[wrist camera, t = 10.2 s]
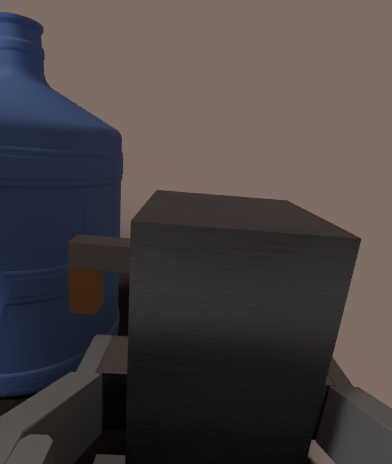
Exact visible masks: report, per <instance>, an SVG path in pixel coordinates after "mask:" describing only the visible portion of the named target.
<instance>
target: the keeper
mask: <svg viewBox="0 0 392 464" xmlns="http://www.w3.org/2000/svg"><path fill="white" fill-rule="evenodd" d="M68 269H69V304H70V313H80V314H94V315H96V314H97V312H98V310H99V309H100V307H101V305H102V303H103V301H104V271H111V272H124V273H130V239H128V238H117V237H105V236H93V235H81V234H78V235H77V236H75V237H74V238H73V239H71V240H70V241H69V242H68ZM93 464H125V456H124V455H103V454H96V457H95V460H94V463H93Z"/></svg>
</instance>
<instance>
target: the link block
mask: <svg viewBox="0 0 392 464" xmlns="http://www.w3.org/2000/svg"><path fill="white" fill-rule="evenodd" d="M360 242H361V238H359V237H357V236H355V235H353V234H351V233H349V232H347V231H346V230H343V229H341V228H340V227H338V226H336V225H334V224H332V223H330V222H328V221H326V220H324V219H322V218H320V217H318V216H316V215H314V214H312V213H310V212H308V211H306V210H304V209H302V208H301V207H299V206H297V205H295V204H293V203H290V202H289V201H286V200H274V199H261V198H248V197H236V196H224V195H210V194H199V193H187V192H173V191H162V190H157V191H156V192H155V193H154V194H153V195H152V197H151V198H150V199H149V200H148V201H147V202H146V204H145V205H144V206H143V207H142V208H141V210H140V211H139V212H138V213H137V214H136V216H135V217H134V218H133V219H132V221H131V237H130V279H129V322H128V364H127V407H126V449H125V464H306V460H307V456H308V452H309V447H310V444H311V440H312V436H313V432H314V428H315V424H316V420H317V416H318V412H319V408H320V404H321V400H322V396H323V391H324V387H325V383H326V379H327V375H328V371H329V367H330V363H331V359H332V355H333V351H334V347H335V343H336V339H337V335H338V331H339V327H340V323H341V319H342V315H343V311H344V306H345V303H346V298H347V295H348V291H349V287H350V282H351V279H352V274H353V270H354V266H355V262H356V258H357V254H358V250H359V246H360Z"/></svg>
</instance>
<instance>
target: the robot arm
mask: <svg viewBox="0 0 392 464" xmlns="http://www.w3.org/2000/svg"><path fill="white" fill-rule="evenodd" d="M127 364H128V336H116V335H114V336H113V335H101V334H97V335H96V336H94V338H93V340H92V342H91V344H90V346H89V347H88V349H87V351H86V353H85V355H84V357H83V359H82V361H81V363H80V365H79V367H78V369H77V371H76V372H70V373H68V374H66V375H65V376H63V377H62V378H60V379H59V380H57V381H55V382H54V383H52V384H51V385H49V386H48V387H46V388H45V389H43V390H41V391H40V392H38V393H37V394H35V395H34V396H32V397H30V398H29V399H27V400H26V401H24V402H23V403H21V404H19V405H18V406H16V407H15V408H13V409H12V410H10V411H9V412H7V413H5V414H4V415H2V416H1V417H0V464H74V463H75V462H76V461H77V460H78V458H79V457H80V456H81V455H82V454H83V453H84V452H85V451H86V450H87V448H88V447H89V446H90V445H91V444H92V443H93V442H94V441H95V440H96V438H97V437H98V436H99V435H100V434H101V433H102V430H126V407H127ZM312 440H316V442H317V444H318V445H319V446H320V447H321V448H322V449H323V450H324V451H325V452H326V453H327V454H328V456H329V457H330V458H331V459H332V460H333V461H334V462H335V463H336V464H392V409H391V408H390V407H388V406H386V405H385V404H383V403H382V402H380V401H378V400H377V399H376V398H374V397H373V396H371V395H370V394H368V393H366V392H365V391H364V390H362V389H360V388H359V387H353V386H352V384H351V383H350V381H349V380H348V378H347V377H346V376H345V374H344V373H343V371H342V370H341V369H340V367H339V366H338V364H337V363H336V361H335V360H334V359H333V357H332V359H331V363H330V367H329V371H328V375H327V379H326V383H325V387H324V391H323V396H322V400H321V404H320V408H319V412H318V416H317V420H316V424H315V428H314V432H313V436H312Z"/></svg>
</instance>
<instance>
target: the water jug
mask: <svg viewBox="0 0 392 464" xmlns="http://www.w3.org/2000/svg"><path fill="white" fill-rule="evenodd" d="M42 33H43V26H42V25H41V24H40V23H38V22H36V21H35V20H32V19H30V18H27V17H25V16H21V15H18V14H13V13H7V12H0V397H14V396H21V395H27V394H32V393H36V392H40V391H41V390H43V389H45V388H46V387H48V386H49V385H51V384H52V383H54V382H55V381H57V380H59V379H60V378H62V377H63V376H65V375H66V374H68V373H70V372H76V371H77V369H78V367H79V365H80V363H81V361H82V359H83V357H84V355H85V353H86V351H87V349H88V347H89V346H90V344H91V342H92V340H93V338H94V336H96V335H97V334H101V335H113V336H114V335H116V336H117V335H118V331H119V308H118V291H119V272H111V271H104V301H103V303H102V305H101V307H100V309H99V310H98V312H97V314H96V315H94V314H80V313H70V304H69V269H68V242H69V241H70V240H71V239H73V238H74V237H75V236H77V235H78V234H81V235H93V236H105V237H117V238H120V200H121V197H120V196H121V180H122V174H123V153H122V152H121V151H122V148H121V147H122V137H121V134H120V133H119V132H118V131H117V130H116V129H114V128H113V127H111V126H110V125H108V124H107V123H105V122H103V121H102V120H100V119H99V118H97V117H96V116H94V115H92V114H91V113H89V112H87V111H86V110H85V109H83V108H82V107H80V106H78V105H77V104H75V103H74V102H72V101H71V100H69V99H67V98H66V97H64V96H63V95H61V94H60V93H58V92H56V91H55V90H53V89H52V88H51V87H50V86H49V85H48V83H47V82H46V79H45V76H44V65H43V64H44V62H43V61H44V50H43V48H42V44H41V35H42Z"/></svg>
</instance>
